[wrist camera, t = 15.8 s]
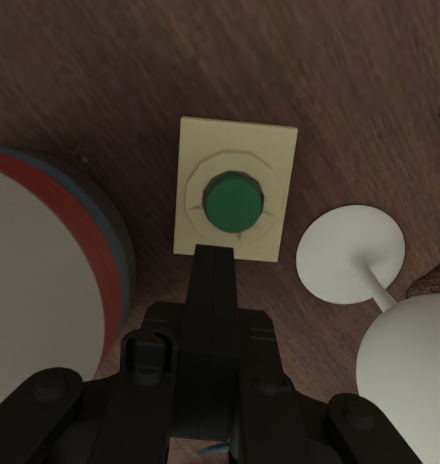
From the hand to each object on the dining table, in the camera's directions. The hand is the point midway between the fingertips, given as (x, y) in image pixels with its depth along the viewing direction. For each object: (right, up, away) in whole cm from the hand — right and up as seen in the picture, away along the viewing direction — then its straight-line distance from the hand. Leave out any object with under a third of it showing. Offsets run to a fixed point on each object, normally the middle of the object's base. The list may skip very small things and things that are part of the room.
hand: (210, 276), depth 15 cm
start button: (+1, +4, +11) cm, 12 cm away
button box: (+1, +5, +14) cm, 15 cm away
